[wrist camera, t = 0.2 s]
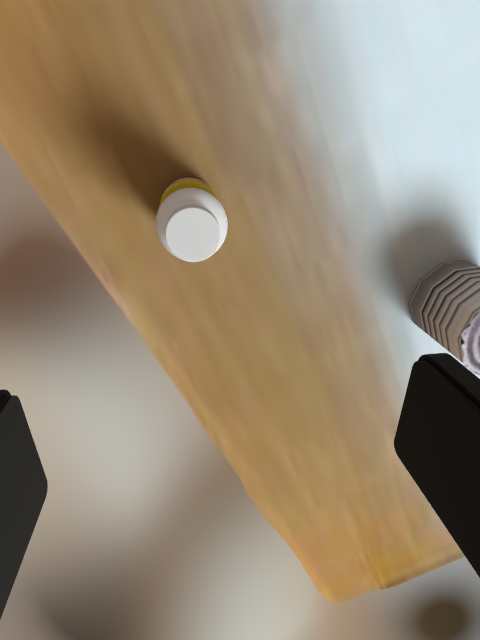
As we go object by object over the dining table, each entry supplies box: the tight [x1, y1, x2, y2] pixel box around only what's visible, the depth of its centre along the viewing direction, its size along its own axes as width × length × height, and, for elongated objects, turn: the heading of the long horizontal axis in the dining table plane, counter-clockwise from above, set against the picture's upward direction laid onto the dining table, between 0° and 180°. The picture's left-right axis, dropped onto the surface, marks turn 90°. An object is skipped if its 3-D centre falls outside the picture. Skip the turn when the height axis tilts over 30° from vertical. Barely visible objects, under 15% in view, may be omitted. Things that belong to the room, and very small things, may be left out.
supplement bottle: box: [156, 178, 228, 262], centre depth 37 cm, size 7×7×13 cm
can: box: [409, 260, 480, 375], centre depth 48 cm, size 11×11×12 cm
